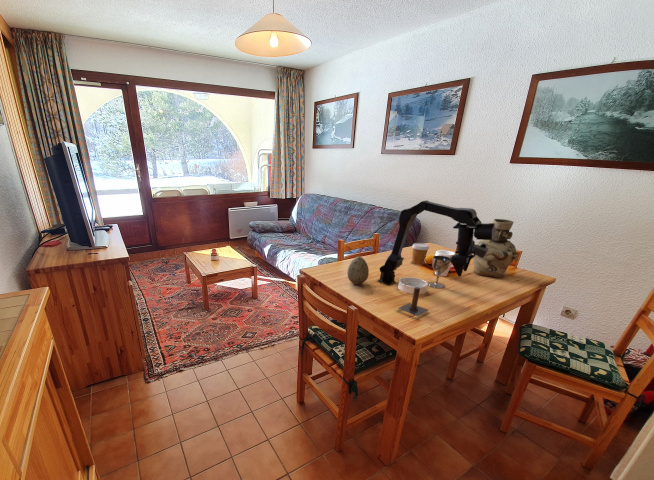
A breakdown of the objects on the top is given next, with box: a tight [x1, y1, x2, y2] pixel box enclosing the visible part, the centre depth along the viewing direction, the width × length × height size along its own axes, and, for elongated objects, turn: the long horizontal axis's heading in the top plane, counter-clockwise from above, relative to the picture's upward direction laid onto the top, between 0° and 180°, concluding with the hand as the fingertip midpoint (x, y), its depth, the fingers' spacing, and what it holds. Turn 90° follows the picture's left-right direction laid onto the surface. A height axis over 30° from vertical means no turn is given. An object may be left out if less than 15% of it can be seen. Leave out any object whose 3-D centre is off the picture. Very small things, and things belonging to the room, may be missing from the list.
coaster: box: [398, 302, 429, 317], centre depth 134 cm, size 9×9×2 cm
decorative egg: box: [346, 256, 370, 286], centre depth 160 cm, size 11×11×15 cm
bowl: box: [397, 276, 429, 295], centre depth 153 cm, size 13×13×5 cm
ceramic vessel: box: [473, 218, 520, 279], centre depth 171 cm, size 19×21×30 cm
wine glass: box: [428, 255, 450, 289], centre depth 158 cm, size 8×8×15 cm
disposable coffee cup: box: [411, 242, 430, 266], centre depth 190 cm, size 10×10×12 cm
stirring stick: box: [409, 287, 420, 311], centre depth 131 cm, size 4×4×10 cm
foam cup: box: [434, 249, 455, 277], centre depth 173 cm, size 10×9×13 cm
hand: (462, 273), depth 137 cm, fingers open, 9 cm apart
